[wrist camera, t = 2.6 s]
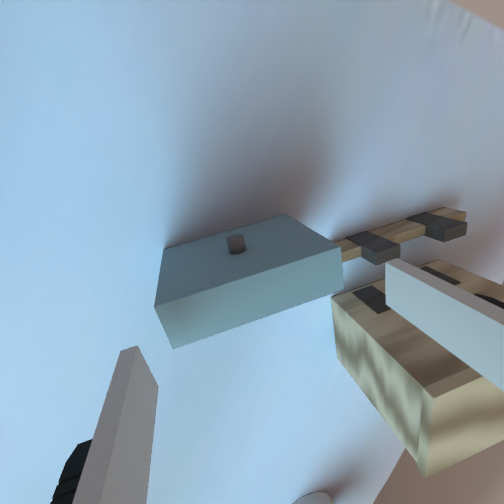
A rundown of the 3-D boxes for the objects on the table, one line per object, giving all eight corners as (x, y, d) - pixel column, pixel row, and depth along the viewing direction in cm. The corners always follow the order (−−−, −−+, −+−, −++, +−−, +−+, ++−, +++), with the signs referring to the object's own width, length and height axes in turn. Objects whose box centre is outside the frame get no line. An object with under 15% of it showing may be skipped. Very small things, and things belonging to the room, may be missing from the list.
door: (159, 238, 21) (147, 291, 13) (283, 203, 23) (339, 231, 15) (175, 279, 23) (173, 349, 15) (289, 243, 25) (344, 289, 17)
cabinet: (323, 244, 26) (441, 321, 14) (445, 205, 28) (635, 244, 16) (336, 360, 32) (425, 478, 20) (434, 320, 34) (566, 408, 22)
